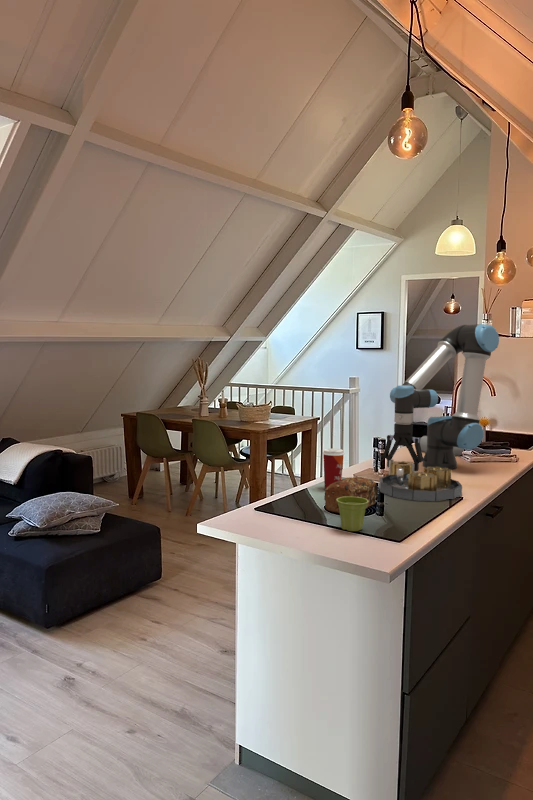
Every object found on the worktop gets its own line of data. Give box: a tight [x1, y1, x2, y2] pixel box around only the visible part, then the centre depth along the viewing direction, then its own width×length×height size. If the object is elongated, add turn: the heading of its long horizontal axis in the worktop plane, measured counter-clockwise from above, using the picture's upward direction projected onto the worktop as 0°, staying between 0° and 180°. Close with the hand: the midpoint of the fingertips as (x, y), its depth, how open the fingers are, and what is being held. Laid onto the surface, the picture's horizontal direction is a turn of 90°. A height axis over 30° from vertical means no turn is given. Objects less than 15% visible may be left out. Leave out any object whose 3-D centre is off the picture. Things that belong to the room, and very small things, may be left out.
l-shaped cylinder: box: [419, 435, 465, 457], centre depth 312 cm, size 18×10×20 cm
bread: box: [323, 476, 378, 514], centre depth 206 cm, size 19×11×10 cm, turn 142°
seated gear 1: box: [408, 471, 437, 491], centre depth 222 cm, size 10×10×6 cm
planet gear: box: [390, 460, 414, 475], centre depth 252 cm, size 10×10×6 cm
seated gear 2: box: [423, 466, 452, 487], centre depth 233 cm, size 10×10×6 cm
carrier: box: [378, 468, 463, 502], centre depth 230 cm, size 29×29×8 cm
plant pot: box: [336, 497, 369, 532], centre depth 181 cm, size 9×9×9 cm
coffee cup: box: [322, 448, 345, 491], centre depth 232 cm, size 8×8×15 cm
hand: (402, 477), depth 253 cm, fingers closed on planet gear, 9 cm apart
